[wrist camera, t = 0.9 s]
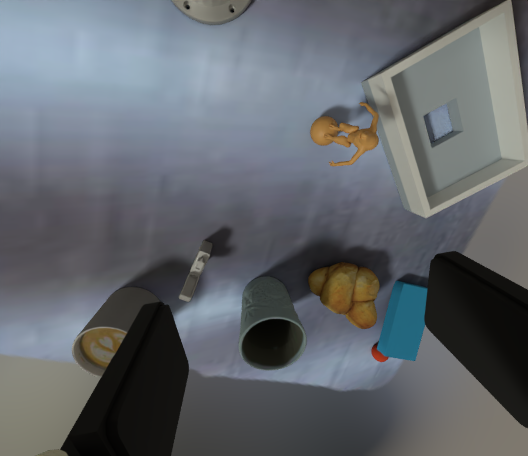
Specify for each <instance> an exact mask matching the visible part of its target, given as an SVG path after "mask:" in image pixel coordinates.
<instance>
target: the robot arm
mask: <svg viewBox="0 0 528 456" xmlns="http://www.w3.org/2000/svg"><path fill="white" fill-rule="evenodd" d="M171 1H172V2H173V3H174V5H175V6H176V7H177V8H178V9H179V10H180V11H181V12H182V13H183V14H185V15H186V16H188V17H189V18H191V19H192V20H195V21H197V22H200V23H203V24H208V25H220V24H224V23H227V22H230V21H232V20H234V19H235V18H237V17H238V16H239V15H241V14H242V13H243V12H244V11H245V10H246V8H247V7H248V6H249V4H250V3H251V1H252V0H171ZM188 6H189V7H190V9H188V10H187V9H186V8H187V7H188ZM231 10H234V13H231V12H230V11H231ZM424 321H425V325H426V327H427V328H428V329H429V330H430V331H431V333H433V335H434V336H435V337H436V338H437V339H438V340H439V341H440V342H441V343H442V344H443V345H444V346H445V347H446V348H447V349H448V350H449V351H450V352H451V353H452V354H453V355H454V356H455V357H456V358H457V359H458V360H459V361H460V362H461V363H462V364H463V365H464V366H465V367H466V369H467V370H468V371H469V372H470V373H471V374H472V375H473V376H474V377H475V378H476V379H477V380H478V381H479V382H480V383H481V384H482V385H483V386H484V387H485V388H486V389H487V390H488V391H489V392H490V393H491V394H492V395H493V396H494V397H495V399H497V401H498V402H499V403H500V404H501V405H502V406H503V407H504V408H505V409H506V410H507V411H508V412H509V413H510V414H511V415H512V416H513V417H514V418H515V419H516V420H517V421H518V422H519V423H520V424H521V425H523V426H524V427H526V428H528V290H527V289H525V288H523V287H522V286H520V285H518V284H516V283H514V282H512V281H510V280H509V279H507V278H505V277H503V276H501V275H499V274H497V273H496V272H494V271H492V270H490V269H488V268H486V267H484V266H482V265H480V264H479V263H477V262H475V261H473V260H471V259H470V258H468V257H466V256H464V255H462V254H460V253H458V252H456V251H451V252H446V253H440V254H437V255H435V257H434V259H432V260H431V263H430V271H429V280H428V289H427V297H426V306H425V315H424ZM188 372H189V364H188V360H187V357H186V354H185V351H184V348H183V345H182V342H181V339H180V336H179V333H178V330H177V327H176V324H175V321H174V318H173V315H172V312H171V309H170V307H169V305H164V303H163V302H155V303H149V304H144V305H143V306H142V307H141V309H140V311H139V313H138V314H137V316H136V318H135V320H134V321H133V323H132V325H131V327H130V329H129V330H128V332H127V334H126V336H125V337H124V339H123V341H122V343H121V344H120V346H119V348H118V350H117V352H116V353H115V355H114V356H113V358H112V359H111V361H110V363H109V365H108V366H107V368H106V370H105V372H104V373H103V375H102V377H101V379H100V380H99V382H98V384H97V386H96V387H95V389H94V391H93V393H92V394H91V396H90V398H89V400H88V401H87V403H86V405H85V407H84V408H83V410H82V412H81V414H80V416H79V418H78V419H77V421H76V423H75V424H74V426H73V428H72V430H71V431H70V433H69V435H68V437H67V438H66V440H65V442H64V444H63V446H62V447H61V449H60V450H59V449H58V450H48V451H46V452H43V453H41V454H38V455H36V456H171V452H172V448H173V443H174V439H175V434H176V429H177V424H178V420H179V415H180V411H181V406H182V401H183V396H184V392H185V387H186V382H187V378H188Z"/></svg>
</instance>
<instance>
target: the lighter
mask: <svg viewBox="0 0 528 456" xmlns="http://www.w3.org/2000/svg"><path fill="white" fill-rule="evenodd" d="M212 245H213V244H212V243H210V242H208V241H205V240H204V241H203V242H202V244H201V246H200V249H199V251H198V253H197V255H196V257H195V259H194V262H193V265H192V267H191V270H190V273H189V275H188V277H187V279H186V281H185V284H184V286H183V288H182V291H181V293H180V296H179V299H182V300H184V301H187V302H189V301H190V300H191V298H192V296H193V294H194V291H195V288H196V285H197V283H198V280H199V277H200V276H199V275H201V273H202V271H203V269H204V267H205V265H206V263H207V261H208V258H209V256H210V253H211V249H212Z"/></svg>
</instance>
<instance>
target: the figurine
mask: <svg viewBox="0 0 528 456" xmlns="http://www.w3.org/2000/svg"><path fill="white" fill-rule="evenodd" d="M359 104H362V105H361V106H366V108H367V110H368V111H369V112H370V113H371V114H372V115H373V116H374V118H373V120H372V123H371V126H370V128H368V129H361V130H359V127H358V126H352V125H350V124H346V123H340V125H339V127H338V124H337V122H336V121H335V120H334V119H333V118H331V117H328V116H323V117H320V118H318V119H317V120H315V121H314V123H313V124H312V126H311V130H310V134H311V138H312V140H313V141H314V142H315V143H316V144H318V145H323V146H324V145H328V144H330V143H332V142H333V141H334V142H335V143H337V144H340V145H344V146H345V147H350V145H351V143H353V144H354V145H355V146H356V147H357V148H358V150H357V152H356V153H355V155H354V156H353V157H352V159H351V160H350V161H345V162H338V163H334V162H333V161H332V163H331V162H329V163H331V164H330V166H342V165H352V164H353V163H354V162H355V161H356V160H357V159H358V158H359V157H360V156H361V155H362V154H363V153H364V152H365V151H368V150H372V149H374V148H375V147H376V146H377V145H378V141H379V138H378V136H377V134H376V131H377V123H378V118H379V114H378V113H377V112H376V111H374V110H373V109H372V107H371V106H369V105H368V104H367V103H363V102H360V103H359ZM358 130H359V131H358ZM338 131H344V132H345V133H350V134H349V135H348V138H346V137H345V136H337V135H338Z"/></svg>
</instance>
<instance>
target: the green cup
mask: <svg viewBox="0 0 528 456" xmlns="http://www.w3.org/2000/svg"><path fill="white" fill-rule="evenodd" d="M306 344H307V337H306V333H305V330H304V328H303V326H302V324H301V322H300V320H299V318H298V315H297V313H296V312H295V310H294V306H293V304H292V301H291V299H290V296H289V294H288V292H287V289H286V287H285V286H284V284H283V283H282V282H280V281H279V280H277V279H275V278H273V277H268V276H266V277H259V278H256V279H254V280H252V281H251V282H250V283H249V284H248V285H247V286H246V287H245V289H244V291H243V296H242V313H241V328H240V336H239V352H240V355H241V357H242V358H243V360H244V361H245V362H246V363H247V364H249V365H250V366H252V367H254V368H257V369H261V370H278V369H282V368H285V367H287V366H289V365H291V364H293V363H294V362H295V361H297V360H298V359H299V358H300V356H301V355H302V354H303V352H304V350H305V347H306Z"/></svg>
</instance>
